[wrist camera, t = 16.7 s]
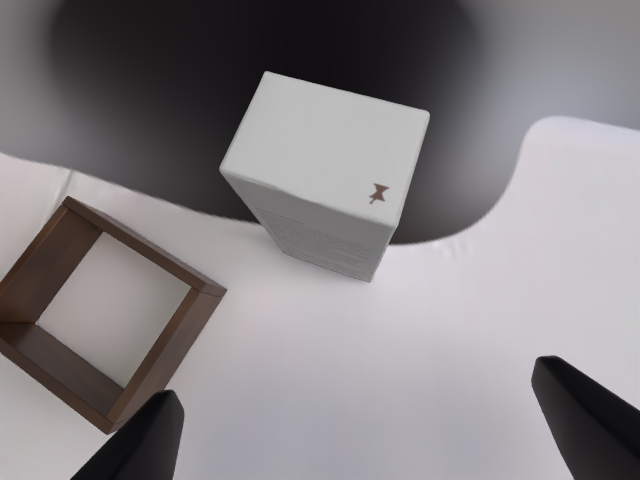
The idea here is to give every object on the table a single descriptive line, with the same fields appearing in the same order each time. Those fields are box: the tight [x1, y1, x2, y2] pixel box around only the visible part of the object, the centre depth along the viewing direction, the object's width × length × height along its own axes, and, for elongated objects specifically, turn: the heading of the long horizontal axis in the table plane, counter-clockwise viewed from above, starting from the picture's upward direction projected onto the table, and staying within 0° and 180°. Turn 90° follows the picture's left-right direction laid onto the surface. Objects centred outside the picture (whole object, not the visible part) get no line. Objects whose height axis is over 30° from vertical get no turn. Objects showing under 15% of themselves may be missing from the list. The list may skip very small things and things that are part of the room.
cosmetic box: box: [219, 72, 430, 282], centre depth 17 cm, size 6×4×12 cm
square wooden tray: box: [0, 196, 227, 435], centre depth 21 cm, size 9×10×4 cm
